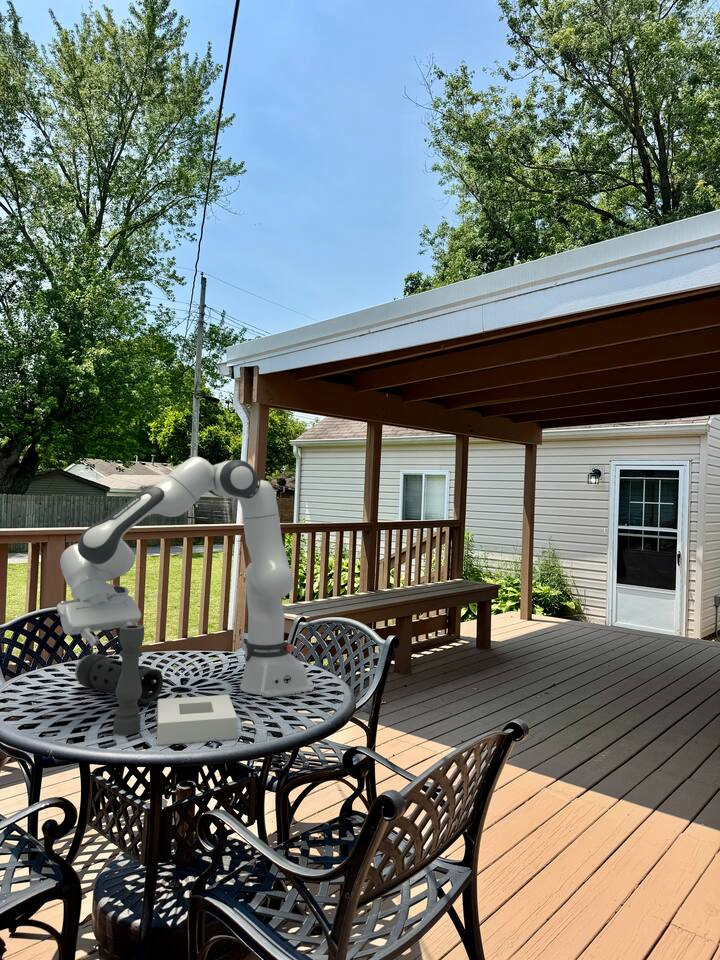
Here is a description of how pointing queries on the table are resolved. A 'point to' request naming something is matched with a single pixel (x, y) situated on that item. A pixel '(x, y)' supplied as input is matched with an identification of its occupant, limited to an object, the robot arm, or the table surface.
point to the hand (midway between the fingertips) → (112, 641)
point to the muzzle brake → (116, 677)
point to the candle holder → (129, 681)
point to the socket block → (195, 719)
